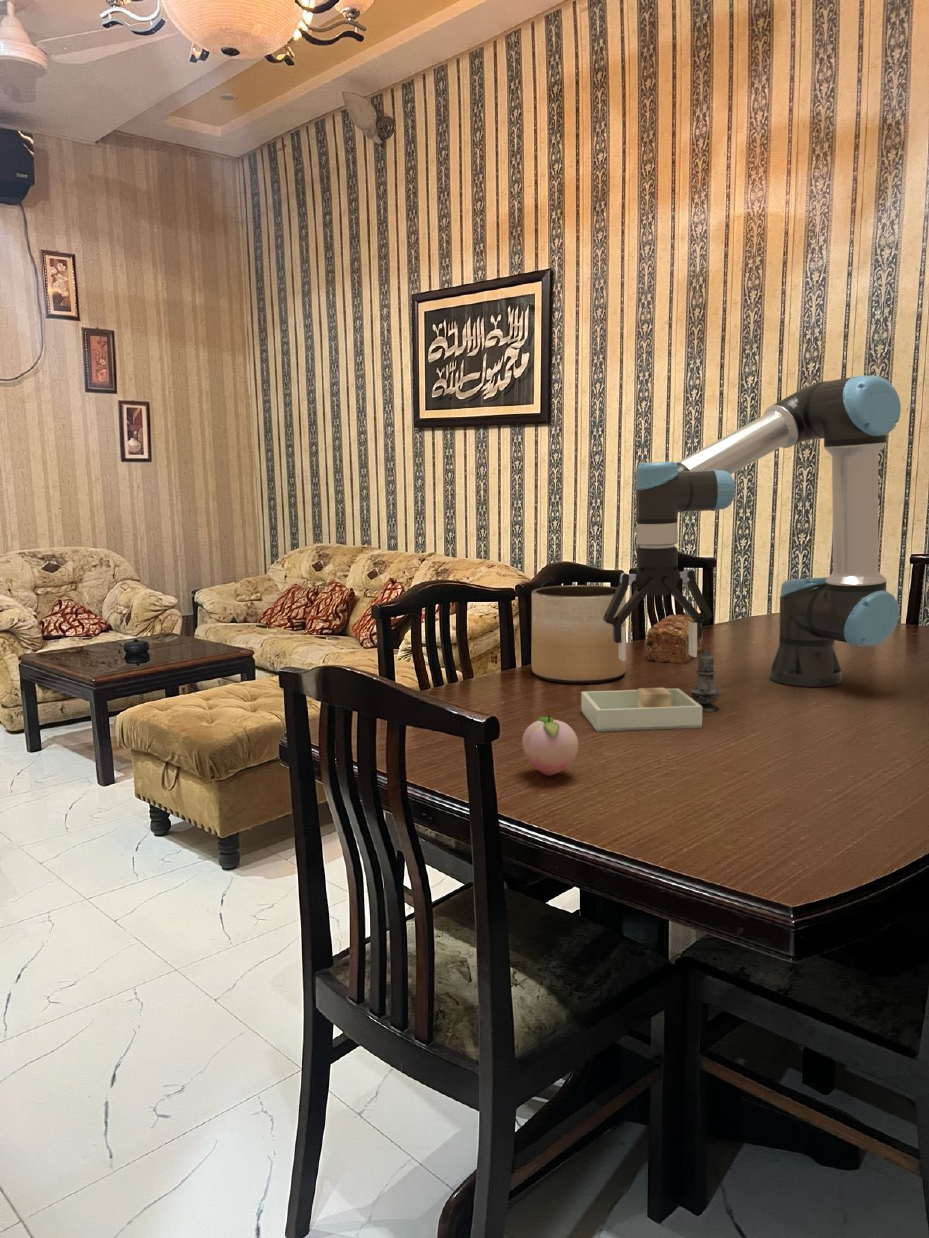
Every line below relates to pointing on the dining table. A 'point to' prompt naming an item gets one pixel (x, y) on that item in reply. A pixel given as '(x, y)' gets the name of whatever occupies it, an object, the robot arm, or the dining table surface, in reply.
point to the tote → (638, 711)
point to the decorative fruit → (550, 745)
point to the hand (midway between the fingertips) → (657, 657)
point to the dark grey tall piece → (705, 684)
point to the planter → (574, 634)
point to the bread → (670, 640)
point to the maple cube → (653, 697)
